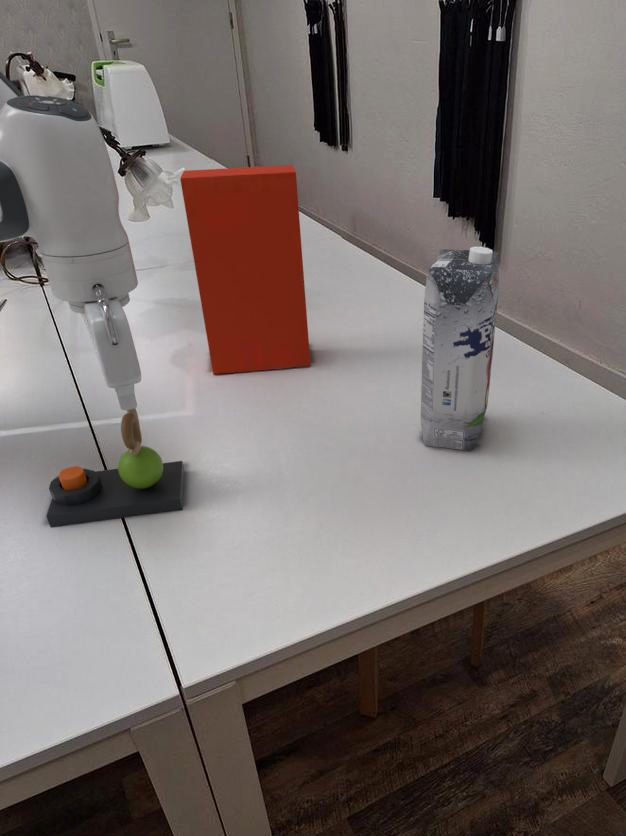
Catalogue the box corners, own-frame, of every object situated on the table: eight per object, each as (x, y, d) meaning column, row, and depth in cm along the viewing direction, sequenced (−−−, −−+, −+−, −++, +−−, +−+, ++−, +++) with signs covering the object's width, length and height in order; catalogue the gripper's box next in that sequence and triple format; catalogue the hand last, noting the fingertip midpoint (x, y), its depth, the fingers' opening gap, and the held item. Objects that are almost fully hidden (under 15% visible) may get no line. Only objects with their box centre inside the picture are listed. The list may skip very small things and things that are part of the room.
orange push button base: (50, 528, 81) (42, 505, 78) (63, 487, 88) (55, 465, 86) (182, 510, 83) (177, 488, 81) (184, 472, 90) (179, 450, 88)
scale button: (60, 492, 81) (56, 480, 80) (64, 479, 84) (60, 467, 83) (85, 489, 82) (81, 477, 81) (88, 476, 84) (85, 464, 83)
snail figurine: (168, 467, 88) (149, 386, 81) (165, 494, 83) (145, 410, 76) (127, 471, 87) (104, 390, 80) (121, 499, 82) (96, 415, 75)
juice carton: (416, 449, 93) (421, 258, 78) (430, 414, 102) (437, 235, 86) (478, 457, 91) (496, 262, 76) (487, 420, 100) (505, 238, 84)
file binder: (214, 357, 122) (183, 169, 103) (307, 349, 124) (292, 164, 105) (213, 375, 115) (180, 178, 97) (310, 367, 117) (295, 172, 99)
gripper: (138, 297, 63) (166, 422, 71) (110, 246, 78) (135, 354, 86) (69, 308, 61) (106, 436, 69) (53, 254, 76) (85, 363, 84)
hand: (122, 390), depth 77 cm, fingers open, 8 cm apart
